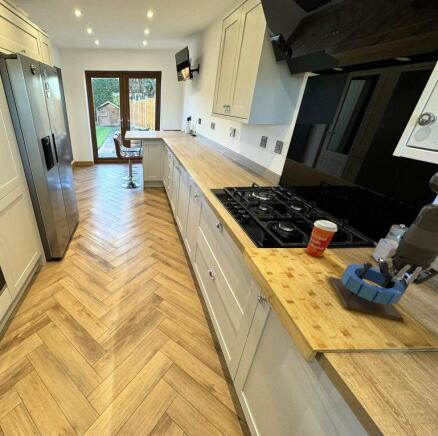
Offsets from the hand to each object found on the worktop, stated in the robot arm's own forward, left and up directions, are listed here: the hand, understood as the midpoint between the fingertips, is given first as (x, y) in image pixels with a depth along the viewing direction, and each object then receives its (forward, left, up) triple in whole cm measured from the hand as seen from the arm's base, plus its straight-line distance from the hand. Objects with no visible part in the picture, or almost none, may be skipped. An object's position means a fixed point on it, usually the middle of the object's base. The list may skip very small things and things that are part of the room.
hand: (391, 290), depth 72 cm
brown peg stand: (+6, 0, -5) cm, 8 cm away
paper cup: (+13, -24, -5) cm, 28 cm away
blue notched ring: (+6, 0, -1) cm, 6 cm away
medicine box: (-12, -27, -5) cm, 30 cm away
